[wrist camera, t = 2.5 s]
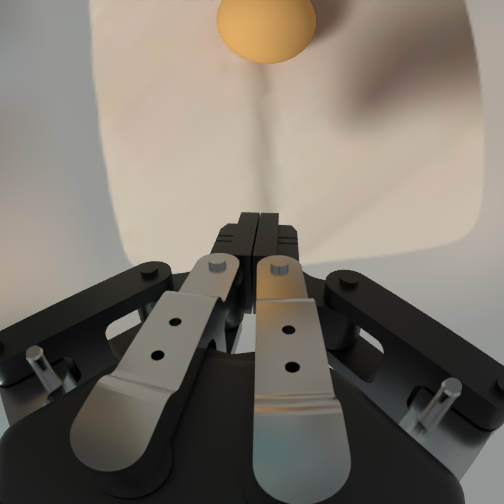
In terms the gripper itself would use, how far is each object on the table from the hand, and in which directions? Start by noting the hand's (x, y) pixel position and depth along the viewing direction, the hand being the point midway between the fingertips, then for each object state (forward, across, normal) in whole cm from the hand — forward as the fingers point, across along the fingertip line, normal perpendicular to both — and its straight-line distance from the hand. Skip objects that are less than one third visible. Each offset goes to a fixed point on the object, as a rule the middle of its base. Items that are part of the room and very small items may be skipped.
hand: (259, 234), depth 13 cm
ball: (+5, 0, -10) cm, 11 cm away
